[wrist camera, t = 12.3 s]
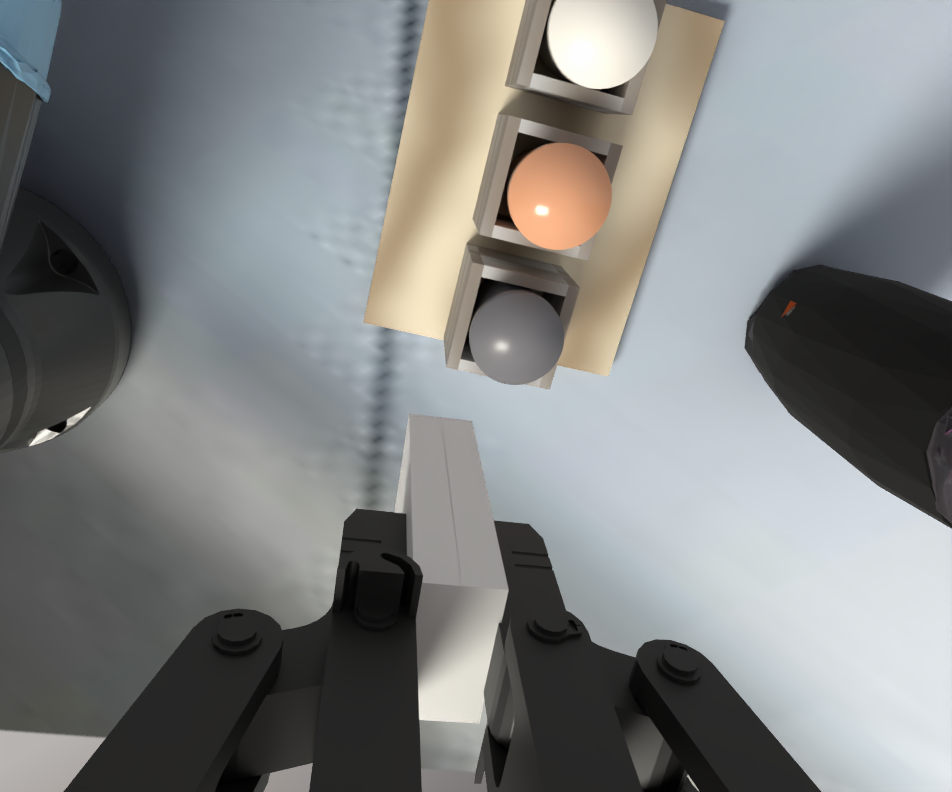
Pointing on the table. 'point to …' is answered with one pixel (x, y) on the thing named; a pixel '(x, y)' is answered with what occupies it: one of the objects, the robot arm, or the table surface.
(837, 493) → the table surface
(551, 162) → the plunger terracotta
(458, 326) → the board
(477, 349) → the plunger charcoal
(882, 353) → the portable speaker
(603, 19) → the plunger cream
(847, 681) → the table surface
